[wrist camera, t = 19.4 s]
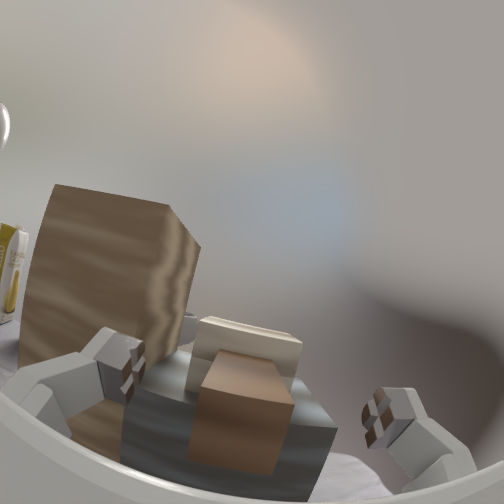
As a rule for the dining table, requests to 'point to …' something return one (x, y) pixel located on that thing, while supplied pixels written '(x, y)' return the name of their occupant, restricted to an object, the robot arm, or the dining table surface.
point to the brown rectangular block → (241, 394)
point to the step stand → (152, 333)
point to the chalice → (188, 329)
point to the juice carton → (10, 267)
